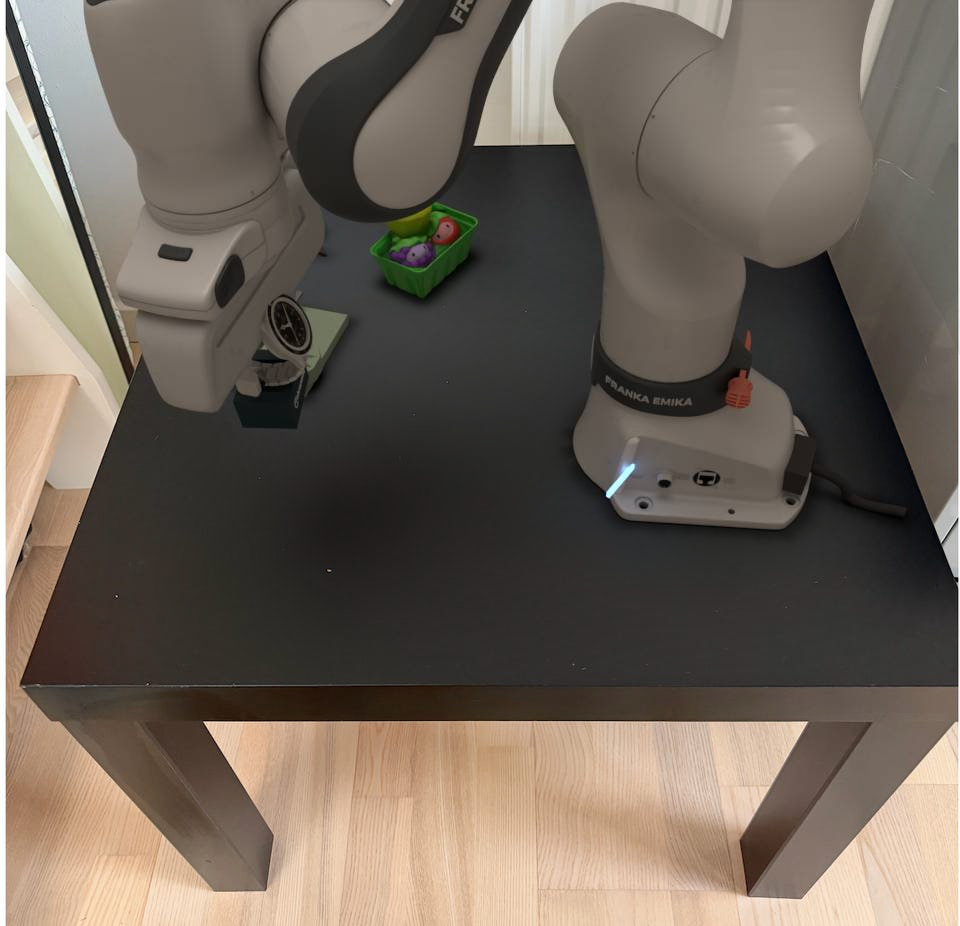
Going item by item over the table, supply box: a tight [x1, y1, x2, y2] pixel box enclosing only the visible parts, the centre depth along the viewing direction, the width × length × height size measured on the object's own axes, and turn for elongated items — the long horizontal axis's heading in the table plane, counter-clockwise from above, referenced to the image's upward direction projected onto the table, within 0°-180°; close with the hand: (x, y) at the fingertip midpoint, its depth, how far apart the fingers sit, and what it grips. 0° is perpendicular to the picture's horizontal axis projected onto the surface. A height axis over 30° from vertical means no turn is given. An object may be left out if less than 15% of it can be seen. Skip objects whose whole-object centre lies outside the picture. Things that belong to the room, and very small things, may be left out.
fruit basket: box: [369, 201, 479, 299], centre depth 102 cm, size 11×9×11 cm
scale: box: [258, 305, 350, 399], centre depth 97 cm, size 15×13×3 cm
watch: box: [232, 294, 313, 430], centre depth 68 cm, size 6×8×11 cm
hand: (268, 364), depth 70 cm, fingers closed on watch, 4 cm apart
